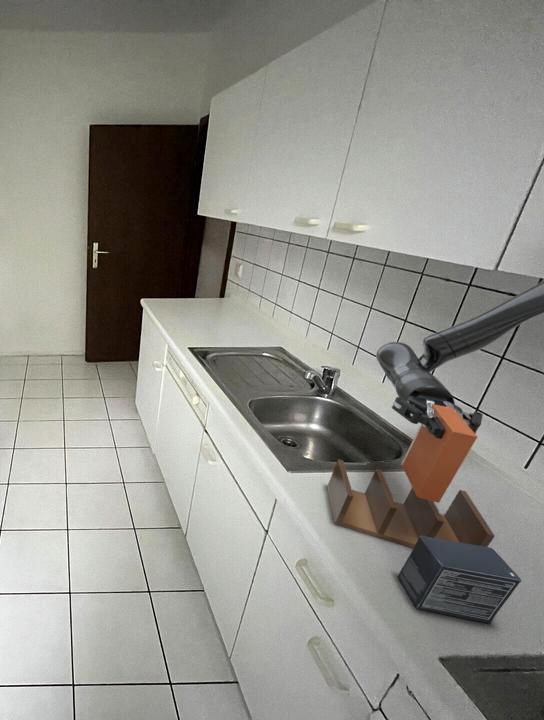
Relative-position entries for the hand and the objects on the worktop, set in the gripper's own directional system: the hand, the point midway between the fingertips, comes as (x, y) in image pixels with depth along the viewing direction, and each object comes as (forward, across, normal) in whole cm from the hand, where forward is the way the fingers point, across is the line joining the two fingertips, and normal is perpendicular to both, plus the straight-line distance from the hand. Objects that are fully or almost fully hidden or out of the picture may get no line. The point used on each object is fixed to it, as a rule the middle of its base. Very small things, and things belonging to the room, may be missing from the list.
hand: (455, 437), depth 68 cm
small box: (+14, +2, +24) cm, 28 cm away
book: (-3, 0, +13) cm, 13 cm away
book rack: (-3, -1, +24) cm, 24 cm away
